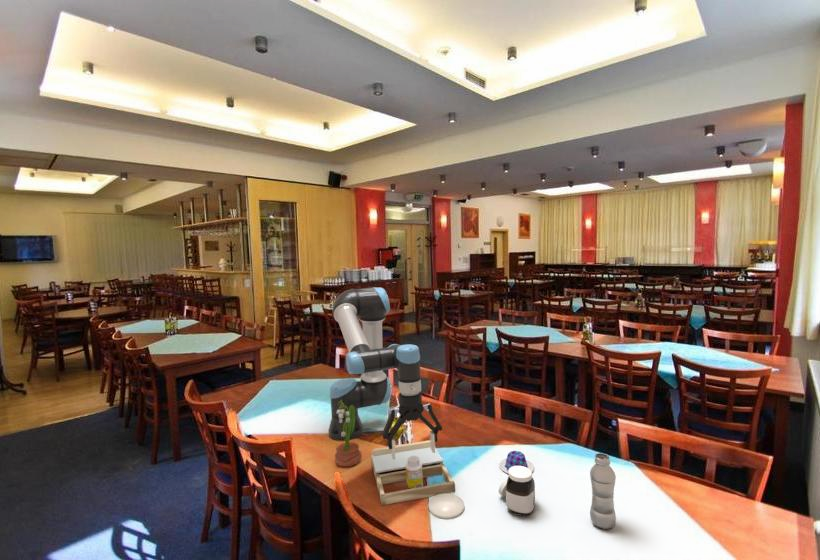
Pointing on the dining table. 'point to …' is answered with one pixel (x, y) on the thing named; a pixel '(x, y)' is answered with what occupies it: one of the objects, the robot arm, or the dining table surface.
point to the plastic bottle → (602, 492)
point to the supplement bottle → (414, 473)
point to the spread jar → (519, 490)
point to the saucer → (446, 506)
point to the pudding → (515, 461)
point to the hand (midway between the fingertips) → (413, 454)
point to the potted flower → (347, 439)
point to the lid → (404, 456)
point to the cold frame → (415, 492)
